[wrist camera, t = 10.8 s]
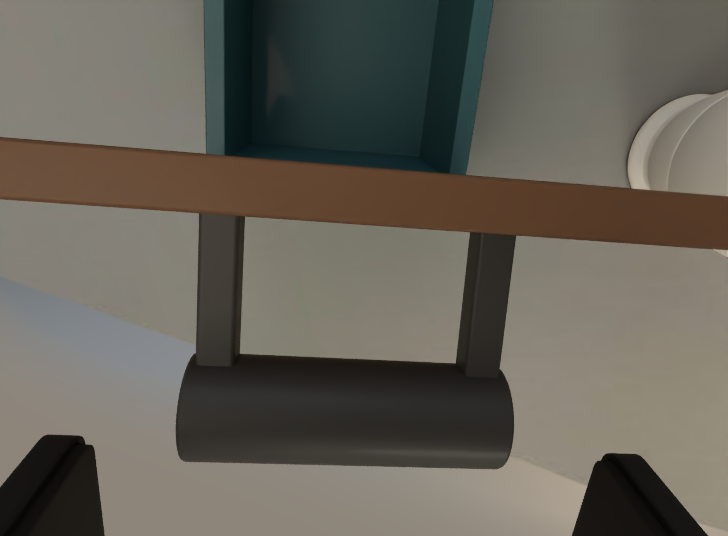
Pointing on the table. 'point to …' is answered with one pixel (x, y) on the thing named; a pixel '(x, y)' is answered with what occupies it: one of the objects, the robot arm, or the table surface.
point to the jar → (684, 148)
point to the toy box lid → (336, 375)
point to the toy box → (345, 80)
